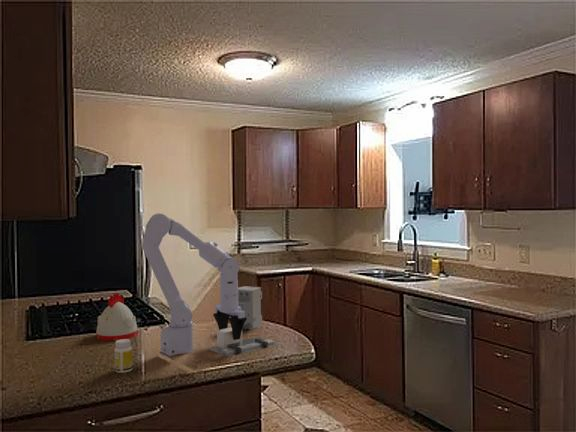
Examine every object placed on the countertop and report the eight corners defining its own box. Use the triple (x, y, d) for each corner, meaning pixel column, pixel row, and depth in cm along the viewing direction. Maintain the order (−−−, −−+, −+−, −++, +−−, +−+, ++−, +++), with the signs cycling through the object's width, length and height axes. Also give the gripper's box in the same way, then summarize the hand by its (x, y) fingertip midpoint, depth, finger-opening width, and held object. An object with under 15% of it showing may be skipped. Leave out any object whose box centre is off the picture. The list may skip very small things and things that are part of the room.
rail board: (227, 360, 155) (227, 351, 155) (206, 351, 164) (206, 343, 164) (280, 347, 168) (280, 339, 168) (258, 339, 177) (258, 332, 177)
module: (242, 344, 167) (242, 328, 167) (223, 349, 163) (223, 332, 163) (235, 342, 171) (235, 326, 170) (217, 346, 166) (216, 330, 166)
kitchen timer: (87, 339, 181) (86, 296, 181) (113, 329, 194) (112, 289, 194) (121, 342, 177) (120, 298, 176) (145, 332, 190) (144, 291, 189)
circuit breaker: (223, 334, 185) (222, 292, 184) (245, 325, 197) (244, 286, 197) (241, 336, 181) (240, 293, 181) (262, 327, 194) (261, 287, 193)
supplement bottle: (134, 367, 149) (133, 338, 149) (130, 373, 145) (129, 342, 144) (117, 367, 149) (116, 338, 149) (112, 373, 145) (111, 343, 144)
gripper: (252, 295, 163) (253, 339, 164) (227, 290, 174) (228, 330, 175) (233, 299, 159) (234, 343, 159) (209, 292, 170) (210, 334, 170)
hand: (230, 336), depth 167 cm, fingers open, 7 cm apart
